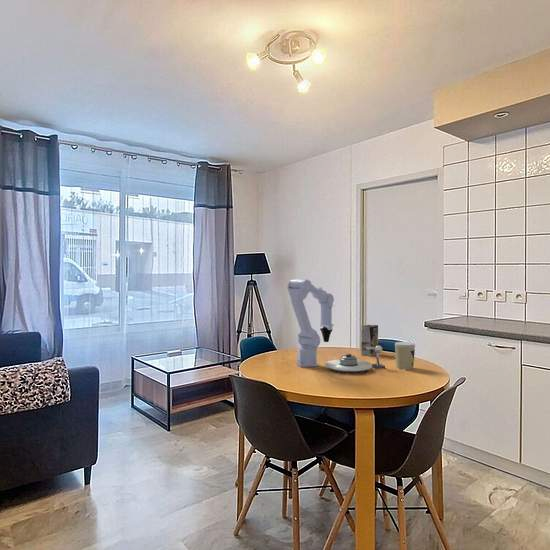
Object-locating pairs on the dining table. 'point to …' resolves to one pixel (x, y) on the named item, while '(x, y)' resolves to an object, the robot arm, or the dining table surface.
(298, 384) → the dining table surface
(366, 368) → the platter
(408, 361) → the coffee cup
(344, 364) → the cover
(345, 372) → the turntable base
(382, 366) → the dial gauge
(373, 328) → the coffee box
